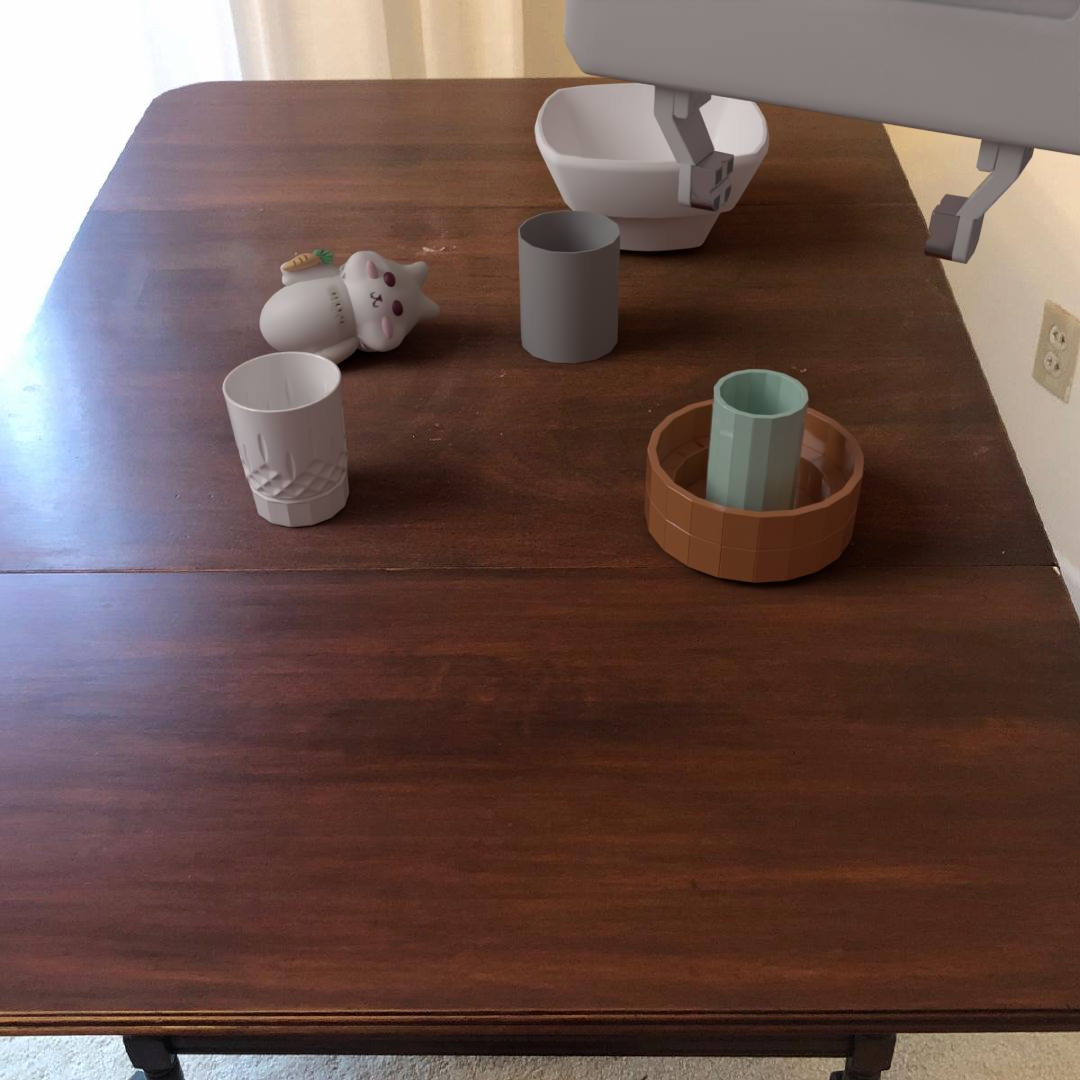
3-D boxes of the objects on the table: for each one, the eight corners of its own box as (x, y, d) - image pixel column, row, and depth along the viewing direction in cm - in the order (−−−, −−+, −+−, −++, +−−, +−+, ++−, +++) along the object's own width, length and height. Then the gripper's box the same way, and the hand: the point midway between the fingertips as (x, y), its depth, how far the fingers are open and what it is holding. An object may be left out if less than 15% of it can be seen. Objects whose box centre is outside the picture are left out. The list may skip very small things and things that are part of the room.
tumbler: (808, 518, 85) (827, 394, 78) (750, 554, 82) (764, 428, 75) (744, 480, 88) (757, 359, 82) (685, 513, 85) (694, 390, 79)
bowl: (770, 283, 114) (784, 162, 107) (533, 284, 114) (531, 164, 107) (744, 190, 131) (754, 80, 124) (538, 191, 132) (537, 82, 125)
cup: (635, 347, 105) (639, 238, 99) (552, 373, 102) (551, 262, 96) (583, 308, 111) (584, 202, 105) (504, 331, 108) (500, 223, 101)
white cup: (227, 522, 86) (200, 401, 80) (278, 461, 92) (256, 344, 86) (329, 541, 84) (309, 419, 78) (374, 478, 90) (359, 359, 84)
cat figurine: (239, 264, 97) (421, 220, 99) (246, 274, 105) (415, 233, 107) (272, 381, 99) (451, 335, 101) (277, 382, 107) (443, 340, 109)
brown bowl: (893, 529, 85) (908, 457, 81) (754, 619, 77) (763, 545, 74) (740, 443, 93) (747, 375, 89) (603, 517, 86) (604, 446, 82)
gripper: (527, -213, 38) (535, 205, 47) (1238, -171, 30) (1091, 326, 39) (617, -236, 43) (610, 151, 51) (1262, -204, 35) (1125, 250, 43)
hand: (821, 228), depth 45 cm, fingers open, 8 cm apart
